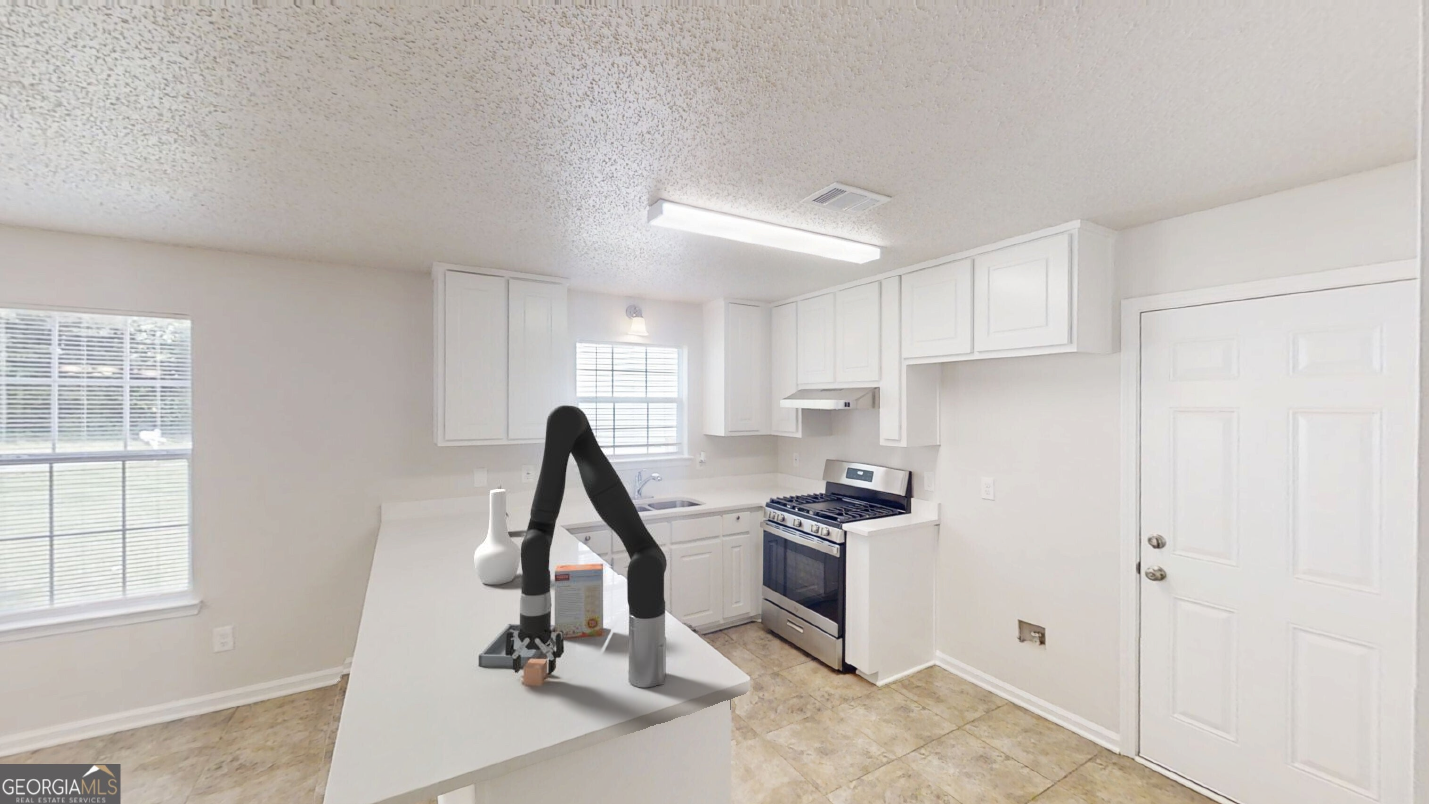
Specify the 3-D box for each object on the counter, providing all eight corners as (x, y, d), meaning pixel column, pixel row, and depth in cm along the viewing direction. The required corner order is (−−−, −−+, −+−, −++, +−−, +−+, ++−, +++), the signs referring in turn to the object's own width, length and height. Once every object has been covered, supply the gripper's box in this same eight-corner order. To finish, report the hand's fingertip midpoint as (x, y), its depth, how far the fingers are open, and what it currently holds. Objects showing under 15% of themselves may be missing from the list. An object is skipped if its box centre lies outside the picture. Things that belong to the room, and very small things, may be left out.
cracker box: (603, 629, 168) (603, 562, 168) (602, 638, 162) (603, 568, 162) (556, 632, 166) (556, 564, 166) (553, 641, 160) (554, 570, 160)
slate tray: (555, 636, 163) (555, 624, 163) (531, 670, 143) (531, 656, 143) (509, 635, 164) (509, 623, 164) (478, 668, 144) (478, 655, 144)
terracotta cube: (547, 676, 141) (547, 659, 140) (541, 685, 136) (541, 667, 136) (530, 675, 141) (530, 658, 141) (523, 685, 136) (523, 667, 136)
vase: (525, 582, 210) (525, 491, 210) (479, 590, 201) (479, 495, 200) (514, 570, 224) (514, 485, 224) (470, 577, 215) (470, 489, 214)
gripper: (501, 613, 135) (500, 678, 135) (558, 615, 134) (557, 680, 135) (513, 602, 142) (512, 663, 142) (567, 604, 142) (566, 665, 142)
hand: (534, 672), depth 139 cm, fingers open, 8 cm apart
